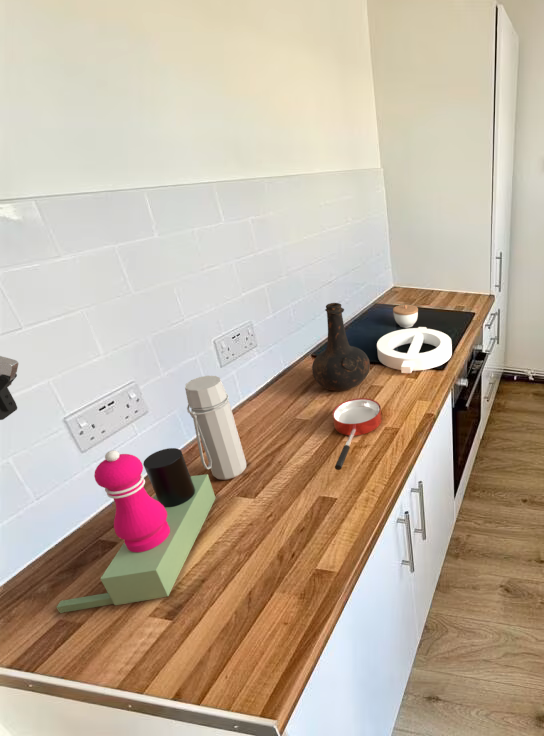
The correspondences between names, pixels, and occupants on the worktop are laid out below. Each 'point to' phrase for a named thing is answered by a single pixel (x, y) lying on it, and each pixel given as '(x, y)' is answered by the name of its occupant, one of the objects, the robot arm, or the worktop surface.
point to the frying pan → (355, 421)
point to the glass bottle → (339, 356)
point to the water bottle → (215, 427)
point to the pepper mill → (132, 502)
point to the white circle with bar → (414, 349)
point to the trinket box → (405, 315)
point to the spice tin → (169, 477)
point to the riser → (152, 557)
